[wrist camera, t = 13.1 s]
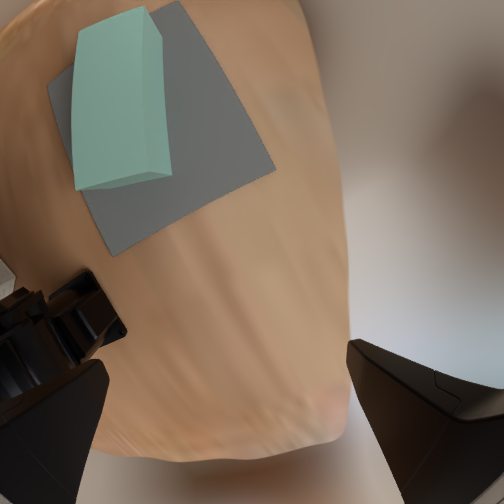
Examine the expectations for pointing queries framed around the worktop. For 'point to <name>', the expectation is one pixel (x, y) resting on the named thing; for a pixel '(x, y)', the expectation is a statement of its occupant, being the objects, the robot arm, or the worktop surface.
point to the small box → (6, 280)
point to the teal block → (119, 103)
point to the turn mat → (176, 139)
